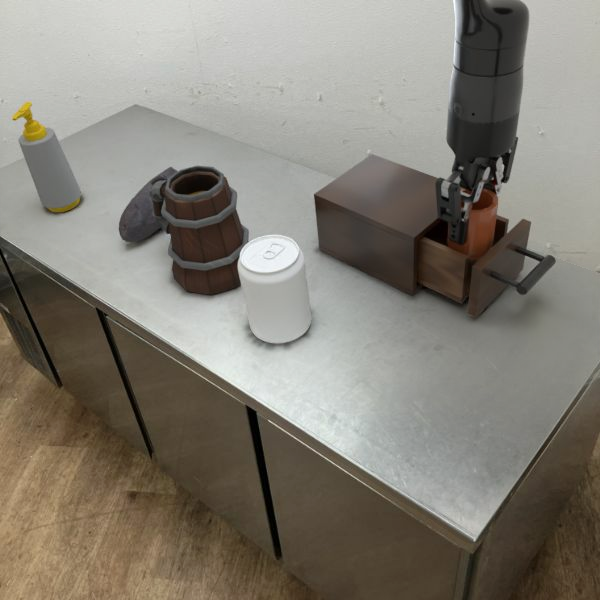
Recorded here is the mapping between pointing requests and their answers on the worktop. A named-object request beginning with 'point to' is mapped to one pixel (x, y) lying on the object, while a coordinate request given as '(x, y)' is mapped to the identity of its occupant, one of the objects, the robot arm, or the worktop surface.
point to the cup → (479, 225)
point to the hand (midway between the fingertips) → (471, 229)
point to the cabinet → (378, 219)
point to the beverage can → (275, 288)
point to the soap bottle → (47, 164)
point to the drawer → (478, 265)
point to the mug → (201, 228)
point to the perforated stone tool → (141, 212)
